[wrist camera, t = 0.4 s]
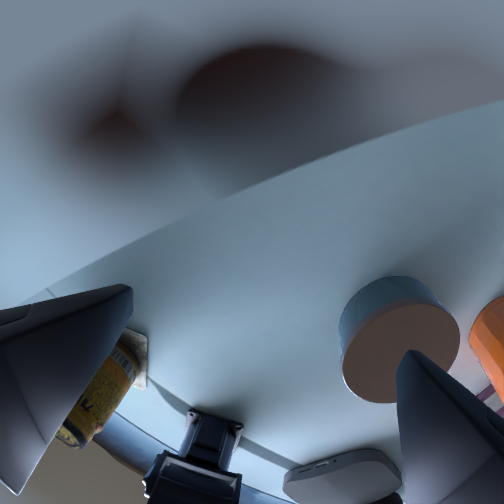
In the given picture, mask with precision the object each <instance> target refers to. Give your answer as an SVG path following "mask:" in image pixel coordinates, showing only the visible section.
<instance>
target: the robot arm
mask: <svg viewBox="0 0 504 504" xmlns="http://www.w3.org/2000/svg"><path fill="white" fill-rule="evenodd" d="M132 312H133V289H132V288H131V287H130V286H128V285H124V284H116V285H112V286H108V287H103V288H99V289H94V290H90V291H86V292H81V293H77V294H72V295H68V296H64V297H59V298H55V299H50V300H46V301H42V302H37V303H33V304H28V305H24V306H19V307H14V308H9V309H4V310H0V482H1V483H2V484H3V485H5V486H6V487H7V488H8V489H9V490H11V491H12V492H13V493H15V494H16V495H17V496H18V495H19V494H20V492H21V491H22V489H23V487H24V486H25V484H26V482H27V480H28V479H29V477H30V475H31V473H32V472H33V470H34V468H35V467H36V465H37V463H38V462H39V460H40V458H41V457H42V455H43V454H44V452H45V450H46V449H47V446H48V445H49V444H50V442H51V440H52V439H53V437H54V436H55V434H56V432H57V431H58V429H59V428H60V426H61V425H62V423H63V421H64V420H65V418H66V417H67V415H68V414H69V412H70V411H71V409H72V408H73V406H74V405H75V403H76V402H77V400H78V399H79V397H80V396H81V394H82V393H83V391H84V390H85V388H86V387H87V385H88V384H89V382H90V381H91V380H92V378H93V377H94V375H95V374H96V372H97V371H98V369H99V368H100V367H101V365H102V364H103V362H104V361H105V359H106V358H107V357H108V355H109V354H110V352H111V351H112V349H113V348H114V346H115V344H116V342H117V341H118V339H119V337H120V335H121V333H122V332H123V330H124V328H125V326H126V324H127V323H128V321H129V319H130V317H131V315H132ZM395 379H396V400H397V416H398V424H399V432H400V441H401V450H402V460H403V472H404V487H405V504H504V419H503V418H502V417H501V416H500V415H498V414H497V413H496V412H495V411H493V410H492V409H491V408H490V407H489V406H486V404H485V403H484V402H482V401H481V400H480V399H479V398H478V397H476V396H475V395H474V394H473V393H471V392H470V391H469V390H468V389H466V388H465V387H464V386H463V385H462V384H460V383H459V382H458V381H457V380H455V379H454V378H453V377H452V376H450V375H449V374H448V373H447V372H445V371H444V370H443V369H442V368H440V367H439V366H438V365H437V364H435V363H434V362H433V361H432V360H430V359H429V358H428V357H427V356H425V355H424V354H423V353H421V352H420V351H418V350H411V349H409V350H407V351H406V352H405V354H404V356H403V358H402V360H401V362H400V363H399V365H398V367H397V369H396V373H395ZM243 428H244V425H243V424H241V423H238V422H234V421H230V420H226V419H223V418H219V417H216V416H212V415H209V414H205V413H202V412H199V411H196V410H192V409H190V410H189V411H188V413H187V421H186V429H185V438H184V440H183V443H182V445H181V448H180V450H179V453H178V455H175V454H173V453H170V452H169V451H167V450H164V452H163V454H157V457H156V459H155V461H154V463H153V465H152V467H151V468H150V469H149V471H148V472H147V474H146V475H145V477H144V479H143V483H144V485H145V496H146V497H149V500H148V503H147V504H238V503H239V497H240V489H241V481H242V474H239V473H237V474H236V473H232V472H228V468H229V464H230V460H231V456H232V452H235V450H236V447H237V445H238V442H239V439H240V437H241V434H242V431H243Z"/></svg>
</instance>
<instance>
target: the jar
mask: <svg viewBox="0 0 504 504" xmlns="http://www.w3.org/2000/svg"><path fill="white" fill-rule="evenodd" d="M339 337H340V343H341V350H342V354H341V369H342V376H343V379H344V382H345V384H346V386H347V387H348V388H349V390H350V391H351V392H352V393H353V394H355V395H356V396H358V397H359V398H361V399H363V400H366V401H369V402H374V403H395V402H397V400H396V379H395V373H396V369H397V367H398V365H399V363H400V362H401V360H402V358H403V356H404V354H405V352H406V351H407V350H409V349H411V350H418V351H420V352H421V353H423V354H424V355H425V356H427V357H428V358H429V359H430V360H432V361H433V362H434V363H435V364H437V365H438V366H439V367H440V368H442V369H443V370H444V371H445V372H448V370H449V369H450V367H451V366H452V364H453V362H454V360H455V358H456V356H457V353H458V350H459V344H460V333H459V328H458V325H457V323H456V321H455V319H454V318H453V316H452V315H451V314H450V312H449V311H448V310H447V309H446V308H445V307H444V306H443V305H441V304H440V303H439V302H438V300H437V299H436V298H435V296H434V295H433V294H432V292H431V291H430V290H429V289H428V288H427V286H425V285H424V284H423V283H422V282H420V281H418V280H416V279H413V278H410V277H405V276H391V277H386V278H382V279H379V280H376V281H374V282H372V283H370V284H368V285H367V286H365V287H364V288H362V289H361V290H360V291H358V292H357V293H356V294H355V295H354V296H353V297H352V299H351V300H350V301H349V302H348V304H347V305H346V307H345V309H344V311H343V313H342V315H341V318H340V323H339Z"/></svg>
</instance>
